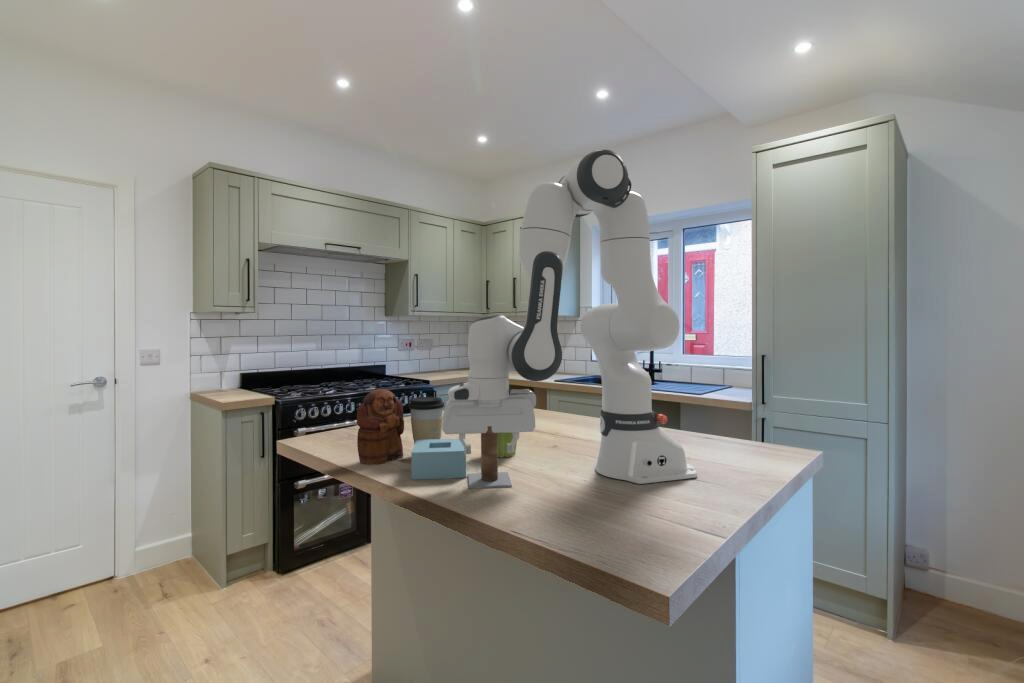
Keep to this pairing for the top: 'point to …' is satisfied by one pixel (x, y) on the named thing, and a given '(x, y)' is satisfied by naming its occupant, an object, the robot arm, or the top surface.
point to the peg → (489, 456)
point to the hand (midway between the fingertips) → (489, 452)
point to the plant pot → (505, 444)
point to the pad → (478, 483)
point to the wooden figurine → (380, 427)
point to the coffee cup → (426, 417)
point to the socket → (438, 459)
